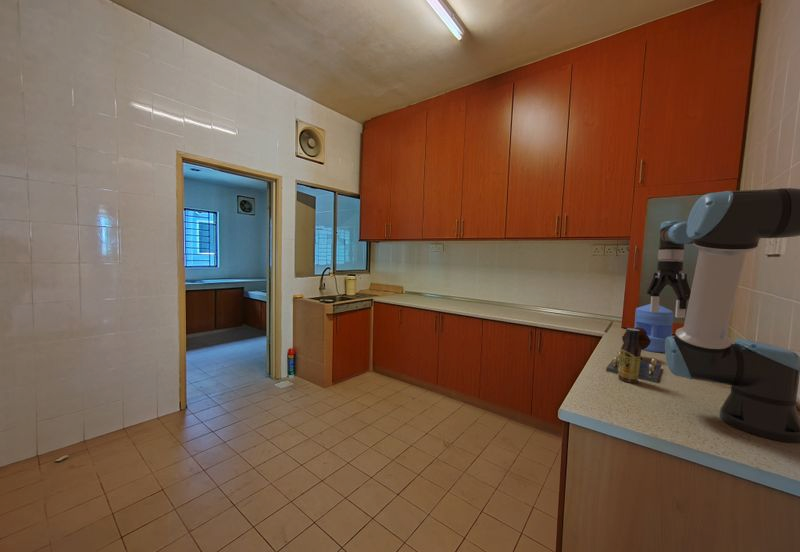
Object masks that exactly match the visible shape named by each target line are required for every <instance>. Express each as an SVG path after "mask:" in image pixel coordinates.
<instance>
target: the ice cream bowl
mask: <svg viewBox="0 0 800 552" xmlns="http://www.w3.org/2000/svg"><path fill="white" fill-rule="evenodd" d="M633 329H638V330H640V334H639V338H638V343H639V345H640V347H641V351H642V350H643V349H645V348H647V347H648V346H649V344H650V342H651V340H649V337H648V336H647V332H646V331H645V330H644V329H643V328H640V327H636V328H633ZM621 339H622V342H623V343H624V341H625V340H626V331H625V332H624V333H623V335H622V337H621ZM643 351H644V350H643ZM642 360H643V358H642V357H641V359H640V361H642Z"/></svg>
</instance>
